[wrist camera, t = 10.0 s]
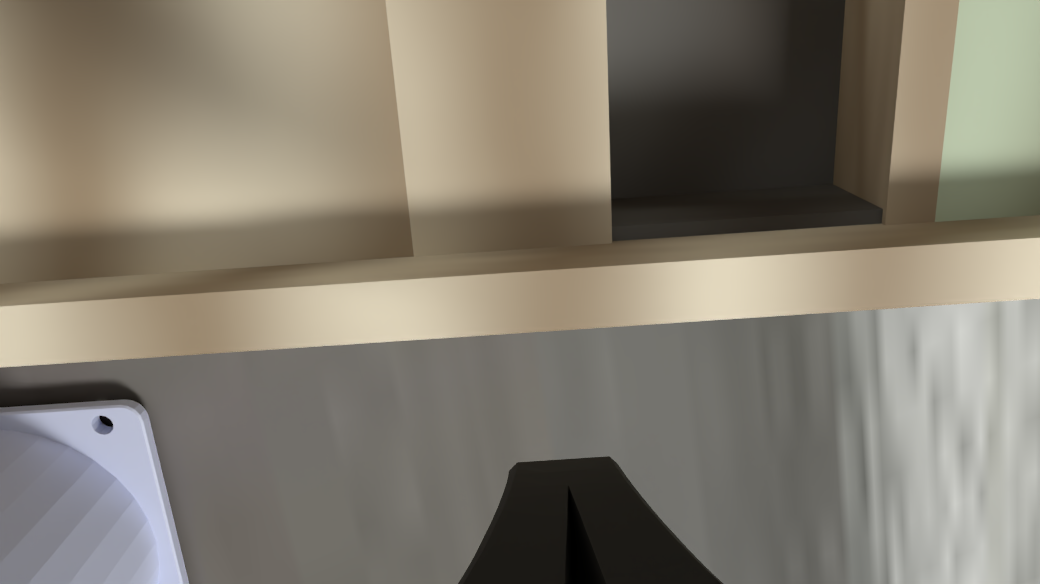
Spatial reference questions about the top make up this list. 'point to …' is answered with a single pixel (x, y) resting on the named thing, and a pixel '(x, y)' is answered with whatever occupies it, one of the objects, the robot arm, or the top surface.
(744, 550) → the top surface
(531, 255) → the wooden tray
